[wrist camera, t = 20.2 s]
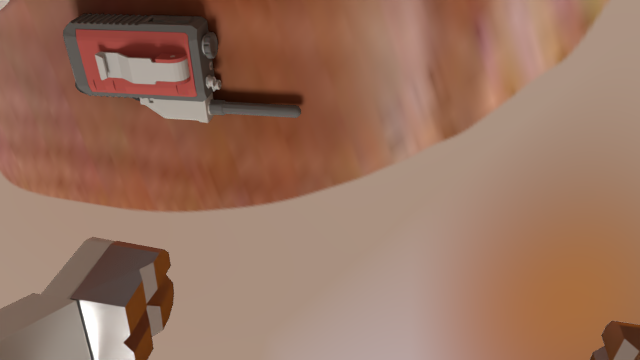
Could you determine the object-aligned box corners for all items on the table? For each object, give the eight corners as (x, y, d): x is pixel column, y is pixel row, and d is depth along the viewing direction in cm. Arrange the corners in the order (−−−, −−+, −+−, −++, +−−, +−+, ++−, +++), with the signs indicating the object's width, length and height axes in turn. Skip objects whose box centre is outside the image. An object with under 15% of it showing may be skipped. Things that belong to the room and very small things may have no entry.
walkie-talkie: (92, 104, 52) (304, 116, 49) (66, 126, 48) (294, 140, 45) (66, 9, 47) (299, 15, 44) (35, 25, 43) (287, 33, 40)
